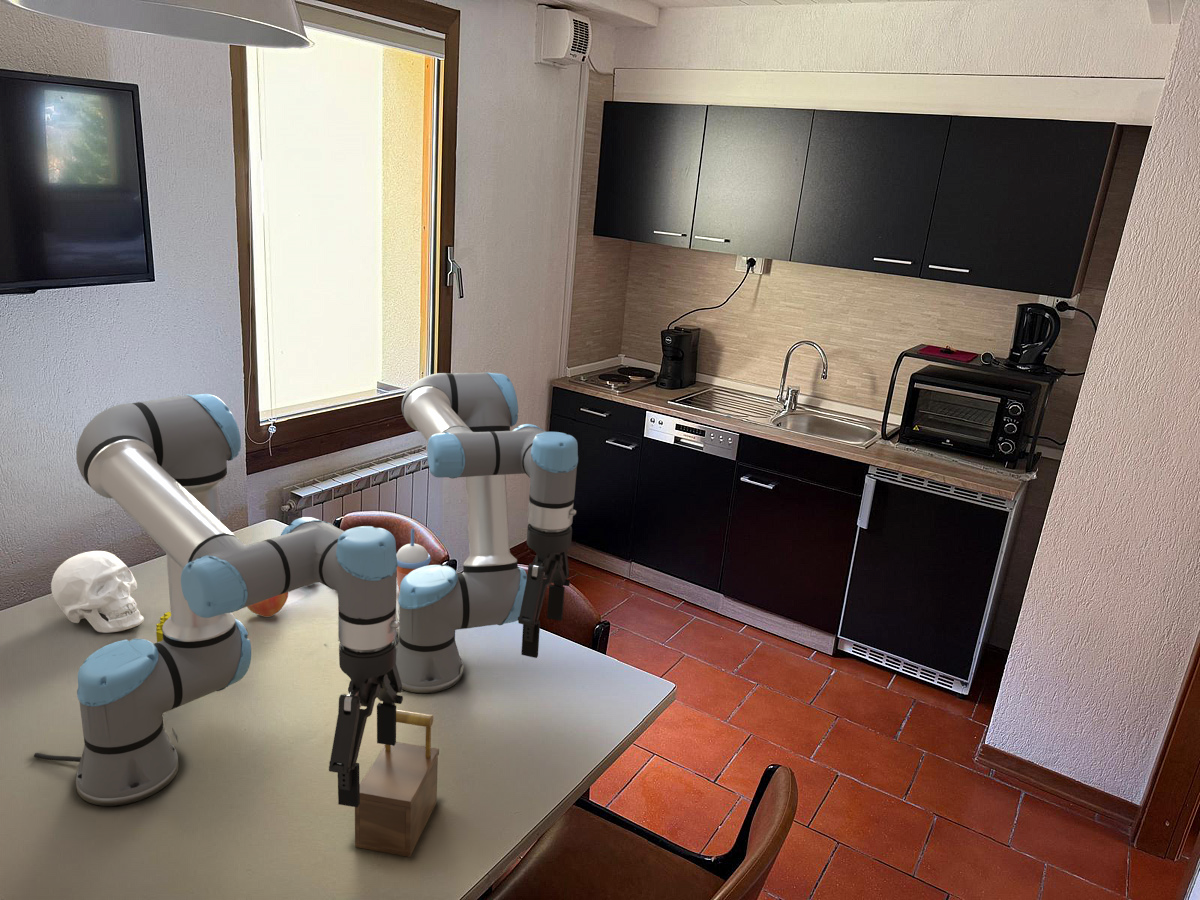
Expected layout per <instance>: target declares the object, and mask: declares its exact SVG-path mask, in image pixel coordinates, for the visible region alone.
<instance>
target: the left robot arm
mask: <svg viewBox="0 0 1200 900" xmlns="http://www.w3.org/2000/svg"><path fill="white" fill-rule="evenodd" d="M241 446H242V439H241V434H240V429H239V426H238V423H237V420H236V418H235V416H234V414H233V412H231V410H230V408H229V406H228V405H227V404H226V403H225V402H224V401H223V400H222V399H221V398H220V397H218V396H216V395H213V394H211V393H200V394H189V393H186V394H183V395H176V396H169V397H164V398H157V399H150V400H144V401H137V402H127V403H120V404H116V405H113V406H111V407H109V408H106V409H104V410H103V411H101V412H99V413H98V414H97V415H95V416H94V417H92V419H91V420H90V421H89V422H88V423H87V424H86V426H85V427H84V428H83V430H82V432H81V434H80V436H79V439H78V440H77V445H76V452H75V457H76V464H77V468H78V470H79V471H78V472H79V473H80V475H81V477H82V479H83V480H84V481H85V483H86V484H87V485H88V486H89V487H90V488H91V489H92V490H93V491H94V492H95V493H96V494H98V495H99V496H101V497H103V498H107V499H113V501H115V502H116V503H117V505H119V507H120V508H121V509H123V510H124V512H126V513H127V515H128V516H129V517H130V518H131V519H132V520H134V522H136V524H137V525H138V526H139V527H140V528H141V529H142V530H143V531H144V532H145V533H146V534H147V535H148V536H149V537H150V538H151V539H152V540H153V541H154V543H156V544H157V545H158V546H159V547H160V548H161V550H163V551H164V552H165V557H166V570H167V580H168V592H169V606H170V612H171V617H170V618H168V619H167V620H166V621H165V623H164V624H163V627H162V631H163V640H162V641H160V642H157V641H156V643H155V642H154V643H153V642H152V641H150V640H148V639H145V638H132V639H131V640H129V639H121V640H118V641H114V642H112V643H109V644H106V645H104V646H102V647H100V648H98V649H97V650H95V651H94V652H92V653H91V654H90V655H88V657H87V658H86V659H84V661H83V663H82V664H81V665H80V667H79V669H78V671H77V690H76V694H77V695H76V696H77V700H78V701H79V710H80V716H81V725H82V733H83V734H82V736H83V742H84V746H83V750H82V753H81V756H71V755H52V754H45V753H41V752H35V753H34V755H33V758H35V759H39V760H45V761H57V762H59V761H60V762H74V763H75V762H77V763H78V766H77V771H76V775H75V786H76V791H77V792H76V793H77V794H78V796H79V797H80V798H81V799H82V800H84V801H85V802H87V803H89V804H92V805H96V806H102V807H103V806H105V807H114V806H121V805H122V806H124V805H128V804H132V803H136V802H139V801H142V800H144V799H147V798H149V797H151V796H153V795H154V794H156V793H158V792H160V791H161V790H162V789H164V788H166V787H167V786H168V785H169V784H170V783H171V782H172V781H173V779H174V778H175V776H176V775H177V773H178V770H179V755H178V752H177V750H176V747H175V746H174V744H173V743H172V742H171V741H170V739H169V738H170V737H169V736H168V733H167V732H166V729H165V728H164V721H163V714H165V713H167V712H169V711H171V710H174V709H176V708H178V707H182V706H184V705H187V704H188V703H191V702H193V701H196V700H198V699H201V698H203V697H206V696H208V695H211V694H212V693H215V692H221V691H224V690H225V689H226V688H228V687H230V686H231V685H233V684H236V683H238V682H240V681H241V680H242V679H243V678H244V677H245V676H246V674H248V671H249V669H250V666H251V662H252V645H251V644H252V643H251V639H249V638H248V637H249V636H248V635H249V633H248V631H247V628H246V626H245V625H244V624H243V623H242V621H240V620H239V619H237V618H236V616H235V614H234V612H238V611H239V610H241V609H245V608H248V607H247V606H250V605H253V604H255V603H258V602H261V601H264V600H266V599H269V598H272V597H275V596H277V595H280V594H284V593H286V592H288V593H289V592H292V591H295V590H299V589H301V588H304V587H308V586H307V585H309V586H311V585H314V584H316V583H320V584H322V585H324V586H326V587H327V588H329V589H331V590H333V591H336V592H337V603H338V614H337V615H338V617H337V618H338V622H337V624H338V628H337V629H338V630H337V631H338V633H337V634H338V635H337V636H338V641H339V643H338V661H339V662H338V663H339V668H340V670H341V671H342V672H343V673H344V674H345V675H346V676H347V677H348V678H349V679H350V680H349V684H348V688H347V692H348V694H343V693H341V694H340V695H339V697H338V710H337V711H338V712H337V718H336V724H335V731H334V736H333V742H332V748H331V753H330V759H329V765H328V772H332V773H337V797H338V798H337V804H338V805H339V806H345V807H353V808H355V807H358V806H359V804H360V783H361V782H360V762H357V761H358V757H359V754H360V748H361V745H362V741H363V737H364V733H365V728H366V724H367V721H368V718H369V717H371V716H372V714H373V710H374V706H375V702H376V699H378V700H379V701H380V702H378V703H377V704H376V744H381V745H385V744H386V745H392V746H394V745H395V744H396V742H397V722H396V709H397V705H401V704H402V703H403V700H404V696H403V695H400V693H402V691H403V689H402V683H401V680H400V676H399V673H398V669H397V666H396V648H397V643H396V639H395V637H396V630H397V629H399V620H397V590H398V589H397V587H398V584H397V566H398V561H397V557H396V553H397V543H396V538H395V536H394V535H393V534H392V533H391V531H389V530H387V529H385V528H384V527H383V528H382V527H374V526H371V525H363V526H356V527H352V528H349V529H346V530H343V529H340V528H338V527H337V526H336V525H334V524H332V523H331V522H327V521H325V520H321V519H318V518H315V517H311V516H303V517H299V518H296V519H294V520H292V522H291V523H290V524H289V525H287V526H285V527H284V529H283V530H282V532H281V533H280V535H279V536H274V537H271V538H268V539H264V540H260V541H257V542H253V543H249V544H245V542H244V541H242V540H241V539H240V538H238V537H237V536H236V534H234V533H233V532H232V531H231V530H230V529H229V528H228V527H227V526H226V525H225V524H224V523H223V522H221V514H220V513H221V512H220V496H219V485H220V484H221V482H223V481H224V480H225V479H226V478H227V476H228V463H227V462H231V461H233V460H234V459H235V458H237V457H238V455H239V453H240V451H241V448H242V447H241ZM313 583H314V584H313ZM310 584H311V585H310ZM396 704H397V705H396ZM362 707H366V708H362ZM171 731H172V735H173V737H174V738H175V741H176V742H177V743H179V740H178V734H177V733H176V731H175V729H174V728H173V727H171Z"/></svg>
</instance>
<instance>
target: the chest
mask: <svg viewBox="0 0 1200 900" xmlns="http://www.w3.org/2000/svg"><path fill="white" fill-rule="evenodd" d="M438 764H439V756H438V757H437V759H436V761H435V762H434V764H433V766H432V768H431V770H430V772H429V774H428V776H427V778H426V779H425V781H424V783H423V785H422V787H421V789H420V791H419V793H418V794H417V796H416V798H415V800H414V802H413V804H412V806H411V807H405V806H400V805H394V804H388V803H382V802H377V801H371V800H365V799H360V804H359V806H358V807H354V847H355V848H359V849H365V850H369V851H375V852H381V853H386V854H390V855H391V854H392V855H397V856H403V857H408V858H410V857H411V856H412V854H413V852H414V849H415V847H416V846H417V843H418V841H419V840H420V838H421V835H422V833H423V831H424V829H425V827H426V825H427V823H428V821H429V820H430V817H431V815H432V813H433V811H434V809H435V807H436V805H437V802H438V773H439V770H438V768H439V765H438Z"/></svg>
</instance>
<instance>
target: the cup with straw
mask: <svg viewBox="0 0 1200 900" xmlns="http://www.w3.org/2000/svg"><path fill="white" fill-rule="evenodd" d="M415 531H416V529H415V528H410V543H407V544H404V545H403V546H401V547H400V548H399V549H398V551H396V557H397V561H398V566H397V587H398V593H399V592H400V584H401V582H402V580H403V578H404V577H405V576H406V575H408V574H409V573H410V572H412V571H413V570H415V569H418V568H421V567H424V566H429V564H430V563H431V561H432V556H431V555H430V553H429V552H428V551H427V549H426V548H425V547H424V546H423V545H421V544H418V543H415Z"/></svg>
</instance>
